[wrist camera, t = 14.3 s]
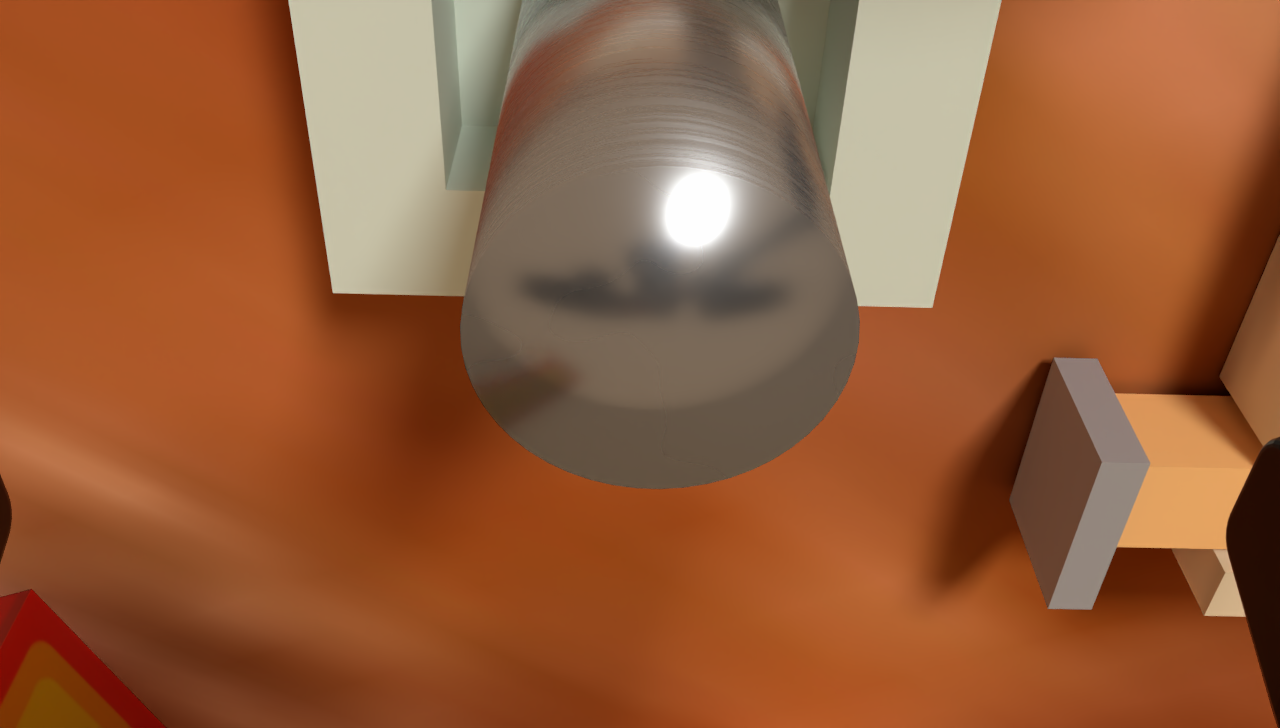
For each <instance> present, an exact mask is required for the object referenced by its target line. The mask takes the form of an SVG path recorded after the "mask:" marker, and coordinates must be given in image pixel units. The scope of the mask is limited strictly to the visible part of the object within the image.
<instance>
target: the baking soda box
mask: <svg viewBox="0 0 1280 728" xmlns="http://www.w3.org/2000/svg"><path fill="white" fill-rule="evenodd" d="M0 728H166V727H165V726H164V725H163V724H162V723H161V722H160V721H159V720H158V719H157V718H156V717H155V716H154V715H153V714H152V713H151V712H150V711H149V710H148V709H147V708H146V707H145V705H144V704H143V703H142V702H141V701H140V700H139V699H138V698H137V697H136V696H135V695H134V694H133V693H132V692H131V691H130V690H129V689H128V688H127V687H126V686H125V685H124V684H123V683H122V682H121V681H120V680H119V679H118V678H117V677H116V676H115V675H114V674H113V672H112V671H111V670H110V669H109V668H108V667H107V666H106V665H105V664H104V663H103V662H102V661H101V660H100V659H99V658H98V657H97V656H96V655H95V654H94V653H93V652H92V651H91V650H90V649H89V648H88V647H87V646H86V645H85V644H84V643H83V642H82V641H81V639H80V638H79V637H78V636H77V635H76V634H75V633H74V632H73V631H72V630H71V629H70V628H69V627H68V626H67V625H66V624H65V623H64V622H63V621H62V620H61V619H60V618H59V617H58V616H57V615H56V614H55V613H54V612H53V611H52V610H51V609H50V608H49V606H48V605H47V604H46V603H45V602H44V601H43V600H42V599H41V598H40V597H39V596H38V595H37V594H36V593H35V592H34V591H33V590H32V589H30V590H27V591H23V592H19V593H15V594H11V595H7V596H3V597H0Z"/></svg>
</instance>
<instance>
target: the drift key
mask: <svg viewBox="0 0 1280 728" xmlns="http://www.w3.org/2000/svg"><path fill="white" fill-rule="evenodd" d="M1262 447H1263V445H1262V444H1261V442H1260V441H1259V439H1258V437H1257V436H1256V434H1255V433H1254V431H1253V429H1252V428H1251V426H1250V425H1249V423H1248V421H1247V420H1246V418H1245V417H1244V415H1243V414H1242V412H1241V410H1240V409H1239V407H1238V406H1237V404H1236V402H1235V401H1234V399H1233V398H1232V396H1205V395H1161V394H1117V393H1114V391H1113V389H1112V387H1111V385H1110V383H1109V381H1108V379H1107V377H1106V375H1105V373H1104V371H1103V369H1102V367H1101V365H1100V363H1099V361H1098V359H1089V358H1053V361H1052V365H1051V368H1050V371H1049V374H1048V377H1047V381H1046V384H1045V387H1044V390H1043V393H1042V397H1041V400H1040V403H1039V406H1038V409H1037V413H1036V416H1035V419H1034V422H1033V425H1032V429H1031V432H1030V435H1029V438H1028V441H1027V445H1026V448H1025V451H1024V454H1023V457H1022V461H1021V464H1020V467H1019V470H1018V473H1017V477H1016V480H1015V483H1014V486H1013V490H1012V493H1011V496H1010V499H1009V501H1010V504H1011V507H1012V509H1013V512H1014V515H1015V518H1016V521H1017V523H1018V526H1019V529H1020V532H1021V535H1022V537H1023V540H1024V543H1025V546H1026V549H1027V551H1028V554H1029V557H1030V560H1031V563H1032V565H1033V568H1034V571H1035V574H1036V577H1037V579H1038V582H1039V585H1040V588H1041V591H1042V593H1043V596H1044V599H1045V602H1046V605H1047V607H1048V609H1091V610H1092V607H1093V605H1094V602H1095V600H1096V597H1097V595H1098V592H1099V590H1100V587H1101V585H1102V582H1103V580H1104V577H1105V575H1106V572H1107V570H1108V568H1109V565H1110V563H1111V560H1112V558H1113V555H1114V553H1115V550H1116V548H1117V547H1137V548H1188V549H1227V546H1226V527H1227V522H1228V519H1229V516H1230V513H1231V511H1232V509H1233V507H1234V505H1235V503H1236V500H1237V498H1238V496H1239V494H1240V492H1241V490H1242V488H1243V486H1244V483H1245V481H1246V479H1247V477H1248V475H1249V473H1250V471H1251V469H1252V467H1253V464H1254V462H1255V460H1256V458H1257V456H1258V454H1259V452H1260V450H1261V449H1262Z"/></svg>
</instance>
